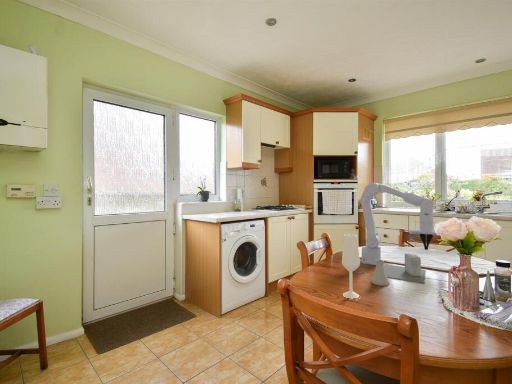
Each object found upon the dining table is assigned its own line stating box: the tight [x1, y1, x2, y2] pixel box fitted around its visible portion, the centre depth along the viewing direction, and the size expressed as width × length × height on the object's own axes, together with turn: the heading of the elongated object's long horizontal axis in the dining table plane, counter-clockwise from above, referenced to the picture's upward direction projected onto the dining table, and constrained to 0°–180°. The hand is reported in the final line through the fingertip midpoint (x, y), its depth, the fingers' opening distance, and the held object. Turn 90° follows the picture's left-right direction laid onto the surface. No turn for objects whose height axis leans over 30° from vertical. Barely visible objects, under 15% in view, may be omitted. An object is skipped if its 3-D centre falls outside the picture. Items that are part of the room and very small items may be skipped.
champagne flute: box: [341, 233, 361, 300], centre depth 102 cm, size 7×7×24 cm
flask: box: [370, 259, 390, 287], centre depth 114 cm, size 7×7×10 cm
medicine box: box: [404, 252, 422, 276], centre depth 124 cm, size 8×4×9 cm, turn 168°
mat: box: [383, 263, 427, 285], centre depth 126 cm, size 18×20×1 cm
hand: (426, 249), depth 130 cm, fingers closed
